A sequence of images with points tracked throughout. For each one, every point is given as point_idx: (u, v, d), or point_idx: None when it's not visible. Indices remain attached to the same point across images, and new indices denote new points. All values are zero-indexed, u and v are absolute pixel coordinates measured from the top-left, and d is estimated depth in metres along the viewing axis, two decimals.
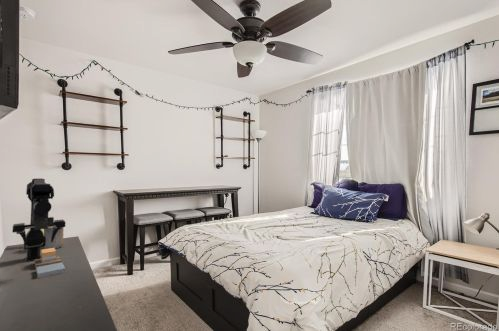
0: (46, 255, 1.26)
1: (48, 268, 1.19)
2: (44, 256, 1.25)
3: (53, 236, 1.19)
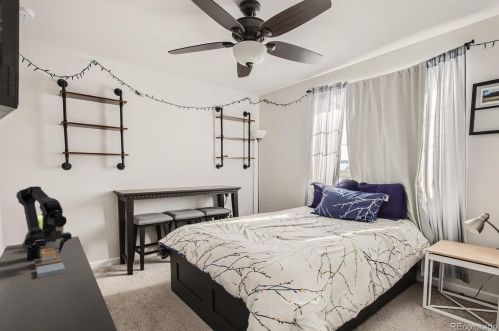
0: (46, 255, 1.26)
1: (48, 268, 1.19)
2: (44, 256, 1.25)
3: (60, 247, 1.32)
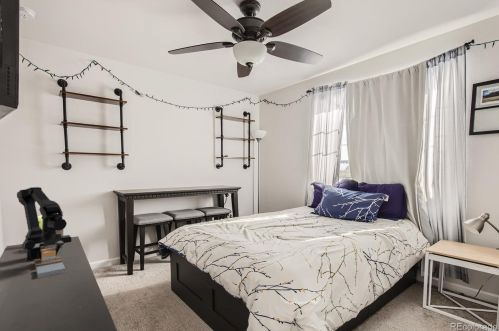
0: (46, 255, 1.26)
1: (48, 268, 1.19)
2: (44, 256, 1.25)
3: (56, 251, 1.31)
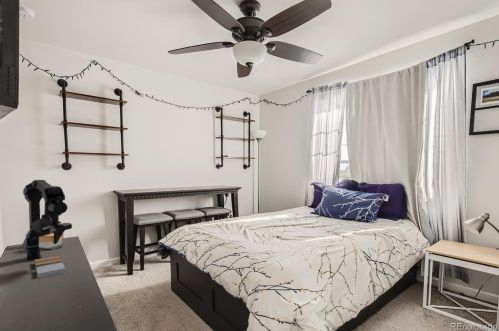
0: (42, 240, 1.21)
1: (48, 268, 1.19)
2: (40, 240, 1.21)
3: (54, 238, 1.23)
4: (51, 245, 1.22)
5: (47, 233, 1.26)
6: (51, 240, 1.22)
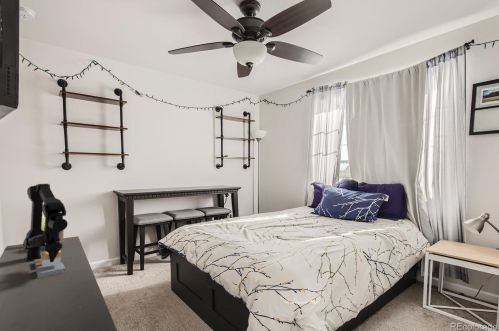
0: (41, 256, 1.18)
1: (48, 268, 1.19)
2: (41, 256, 1.19)
3: (49, 256, 1.17)
4: (46, 263, 1.16)
5: None
6: (46, 258, 1.16)
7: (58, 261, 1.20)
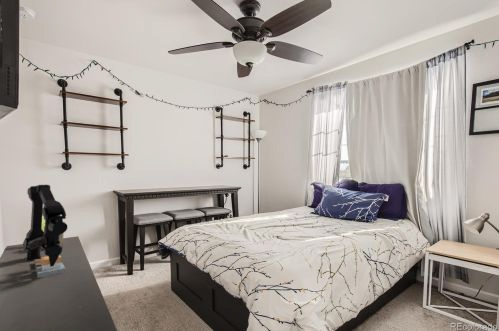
0: (41, 261, 1.18)
1: None
2: (41, 261, 1.19)
3: (49, 260, 1.15)
4: (45, 268, 1.16)
5: None
6: (45, 263, 1.16)
7: (58, 266, 1.19)
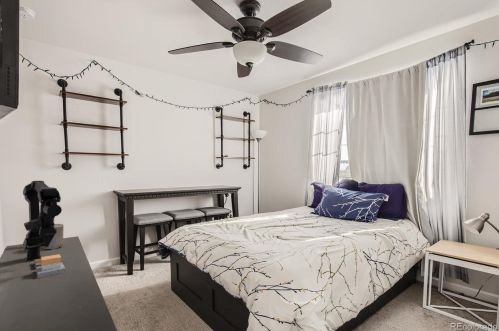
0: (41, 261, 1.18)
1: None
2: (41, 261, 1.19)
3: (44, 241, 1.20)
4: (45, 268, 1.16)
5: None
6: (45, 263, 1.16)
7: (58, 266, 1.19)
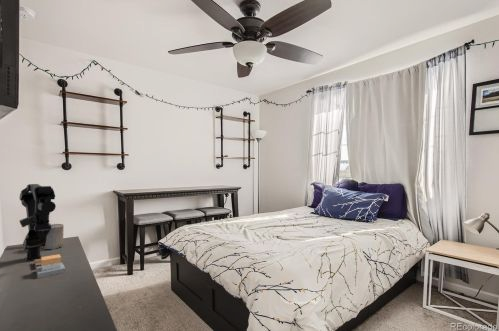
0: (41, 261, 1.18)
1: None
2: (41, 261, 1.19)
3: (39, 237, 1.24)
4: (45, 268, 1.16)
5: None
6: (45, 263, 1.16)
7: (58, 266, 1.19)
